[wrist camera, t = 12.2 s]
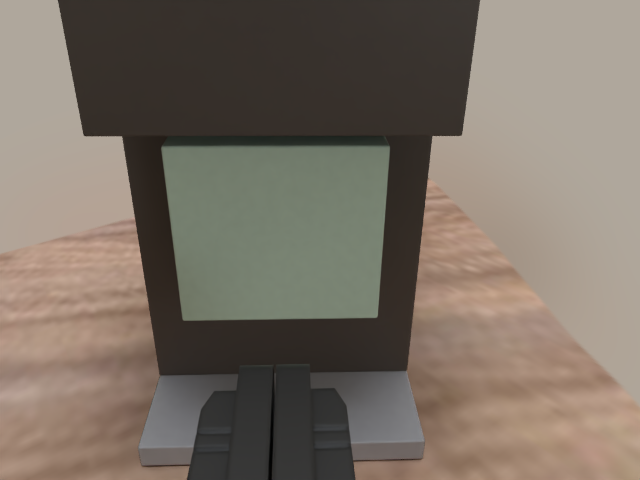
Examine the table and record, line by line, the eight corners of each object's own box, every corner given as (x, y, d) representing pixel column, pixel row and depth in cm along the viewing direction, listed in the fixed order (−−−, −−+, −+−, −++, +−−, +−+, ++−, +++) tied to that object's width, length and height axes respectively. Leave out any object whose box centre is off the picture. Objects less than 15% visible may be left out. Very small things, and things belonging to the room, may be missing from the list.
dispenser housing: (422, 459, 22) (487, -10, 14) (137, 466, 22) (40, -15, 14) (382, 296, 32) (407, -32, 25) (186, 299, 32) (146, -35, 24)
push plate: (377, 318, 20) (390, 145, 17) (182, 321, 20) (160, 146, 17) (372, 295, 22) (383, 131, 19) (189, 297, 21) (169, 131, 18)
